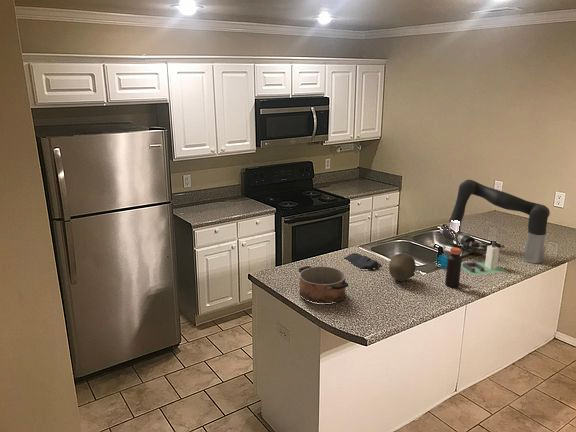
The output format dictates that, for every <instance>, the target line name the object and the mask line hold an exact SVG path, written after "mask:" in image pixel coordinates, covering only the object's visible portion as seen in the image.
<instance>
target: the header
mask: <svg viewBox="0 0 576 432" xmlns="http://www.w3.org/2000/svg"><path fill="white" fill-rule="evenodd" d="M462 264H463V267H464V268H466V269H467V270H469V271H470V272H475V268H472V267H471V266H475V267H476V268H478V269H479V270H480V271H484V267H482V266H481V265H479V264H477V262H475V261H473V262H472V261H471V262H463V263H462Z"/></svg>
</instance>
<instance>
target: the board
mask: <svg viewBox="0 0 576 432" xmlns="http://www.w3.org/2000/svg"><path fill="white" fill-rule="evenodd" d="M476 263H477V264H479V265H481V266H482V267H484V271H480V270H479V269H478V268H476V267H475V266H471V267H472V268H475V272H470V271H469V270H467V269H466V268H464V267H463V263H461V270H463V271H464V272H466V273H468V274H469V275H470V276H479V275H489V274H499V273H508V270H506V269H504V268H503V267H501V266H499V265H497V269H495V270H493V269H489V268H488V267H486V266H485V261H481V262H480V261H479V262H476Z"/></svg>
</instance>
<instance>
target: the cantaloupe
mask: <svg viewBox="0 0 576 432" xmlns="http://www.w3.org/2000/svg"><path fill="white" fill-rule="evenodd" d="M416 266H417V265H416V262H415V259H414V257H412V256H411V255H410V254H407V253H404V252H399V253H396V254H395V255H393V256H392V257H391V259H390V261H389V263H388V271H389V274H390V276H391V277H392V278H393V279H394V280H395V281H399V282H404V281H408V280H410V279H411V278H412V277H413V275H414V274H415V272H416Z"/></svg>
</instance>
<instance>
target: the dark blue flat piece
mask: <svg viewBox="0 0 576 432" xmlns="http://www.w3.org/2000/svg"><path fill="white" fill-rule="evenodd" d="M343 258H344V259H346V260H348V261H349V262H351V264H353V265H354V266H356V267H358V268H360V269H373V268H377V267H378V266H381V265H382V263H380V262H378V260H375V259H373V258H371V257H368V256H367V255H362V254H360V253H357V252H356V253H350V254H349V255H347V256H345V257H343ZM381 267H382V266H381ZM377 269H378V268H377Z"/></svg>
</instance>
